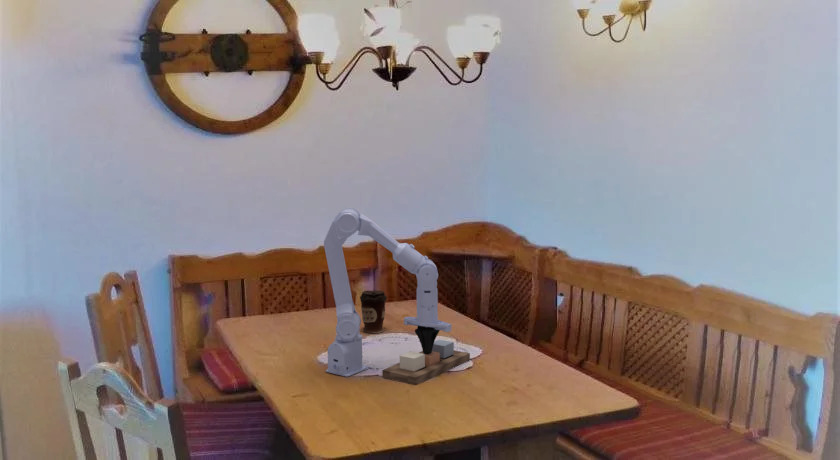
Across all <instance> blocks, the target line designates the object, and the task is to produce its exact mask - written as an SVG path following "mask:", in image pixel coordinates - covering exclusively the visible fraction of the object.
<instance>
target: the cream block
mask: <svg viewBox="0 0 840 460" xmlns="http://www.w3.org/2000/svg"><path fill="white" fill-rule="evenodd" d="M399 363H400V368H401V369H406V370H410V371H416V370H419V369H421V368H423V367H425V354H422V353H419V352H417V351H412V350H411V351H408V352H404V353H403V354H400V355H399Z"/></svg>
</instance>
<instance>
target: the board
mask: <svg viewBox="0 0 840 460" xmlns="http://www.w3.org/2000/svg"><path fill="white" fill-rule="evenodd" d="M470 356H471V353H469V352H465V351H460V350H454V354H453V355H451V356H448V357H446V358H440V362H438V363H436V364H434V365H431V366H428V365H425V367H423V368H421V369H419V370H416V371H410V370H406V369H401V368H400V362H398V363H396V364H394V365H391V366H389V367H386V368H383V369H382V372H381V373H382V377H381V378H383V377H384V379H387V380H392V379H393V381H396V380H397V382H401V383H405V384H409V385H410V384H411V385H415V386H417V385H418V384H421V383H423V382H425V381H428V380H430V379H432V378H434V377H437V376H439V375H440V374H443V373H445V372H447V371H450V370H451V369H454V368H456V367H458V366H461V365H462V364H464V362H465V363H467V362H468V361H470V360H471V357H470ZM466 361H467V362H466ZM455 366H456V367H455ZM453 367H454V368H453Z"/></svg>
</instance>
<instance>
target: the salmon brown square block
mask: <svg viewBox="0 0 840 460" xmlns="http://www.w3.org/2000/svg"><path fill="white" fill-rule="evenodd" d="M418 353H422V354H423V350H422V351H418ZM438 362H440V353H439V352H434V351H432V353H430V354H428V355H427V354H425V365H428V366H431V365H434V364H436V363H438Z"/></svg>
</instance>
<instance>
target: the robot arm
mask: <svg viewBox="0 0 840 460" xmlns="http://www.w3.org/2000/svg"><path fill="white" fill-rule="evenodd" d="M357 232H358V234H357V235H358V236H368V237H370V238H371V239H373V240H374V241H376V242H377V243H378V244H380V245H381V246H383V247H384V248H385V249H387V250H388V251H390V252H391V254H392V260H393V261H394V262H396V263H397V264H398V265H400V266H401V267H402V268H403V269H405V270H406V271H408V272H409V273H410V274H414V275H415V277H416V280H417V281H416V282H417V283H416V284H417V287H416V316H405V317H404V318H403V325H405V326H408V325H409V326H415V327H416V328H415V329H414V332H415V333H414V334H416V336H417V338H418V339H419V340H418V341H419V343H420V346H421V349H422V351H423V354H427V355H428V354H430V353H432V348H433V344H434V342H435V341H436V339H437V336H438V335H439V333H440V331H442V332H443V331H444V333H449V332H452V323H448V322H446V321H444V320H443V321H442V320H440V319H439V317H438V316H439V311H438V310H439V309H438V308H439V307H438V303H439V302H438V301H439V299H438V298H439V297H438V292H439V291H438V288H437V287H438V281H437V280H438V278H439V273H438V268H437V265H436V264H435V263H434V262H433V260H432V259H429V257H428V256H427V255H423V254H421V253H420V252H419V251H418V250H416V249H415V245H413V244H412V243H410V244H409V243H408V242H402V243H401V242H399V241H397V240H396V239H395V238H393V236H392V235H390V234H389V233H388V232H386V231H385V230H384V229H383V228H382V227H380V226H379V225H378V224H377V223H376V222H374V221H373V220H372V219H370V218H369V217H367V216H366V215H365V214H364V213H360V212H359V211H358V210H357V209H355V208H352V207H345V208H344V209H341V210H340V212H339V213H337V215H336V216H335V218H333V220H332V221H331V224H330V227H329V228H328V231H327V233H326V236H325V238H324V240H323V247H324V252H325V257H326V261H327V262H326V263H327V267H328V272H329V273H328V274H329V279H330V283H331V288H332V292H333V298H334V303H335V308H336V309H335V311H336V319H337V322H336V325H335V332H336V333H335V334H336V335H335V340H334V341H333V342H331V344H329V346H328V348H327V369H325V372H326V373H329V374H334V375H338V376H343V377H345V378H346V377H350V376H351V377H352V376H353V375H356V374H357V373H360V372H364V371H365V370H368V369H370V366H369V365H365V364H363V335H362V334H361V333H360V327H361V326H362V325H361V324H362V320H361V319H362V317H361V316H360V315H359V313H358V311H357V310H356V306H355V303H354V301H353V297H352V296H353V295H352V291H351V290H352V289H351V286H350V280H349V275H348V271H347V266H346V265H347V264H346V260H345V255H344V249H343V245H344V244H345V242H346V241H347V239H349V238H350V237H351V236H353V235H354V234H355V233H357Z"/></svg>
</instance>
